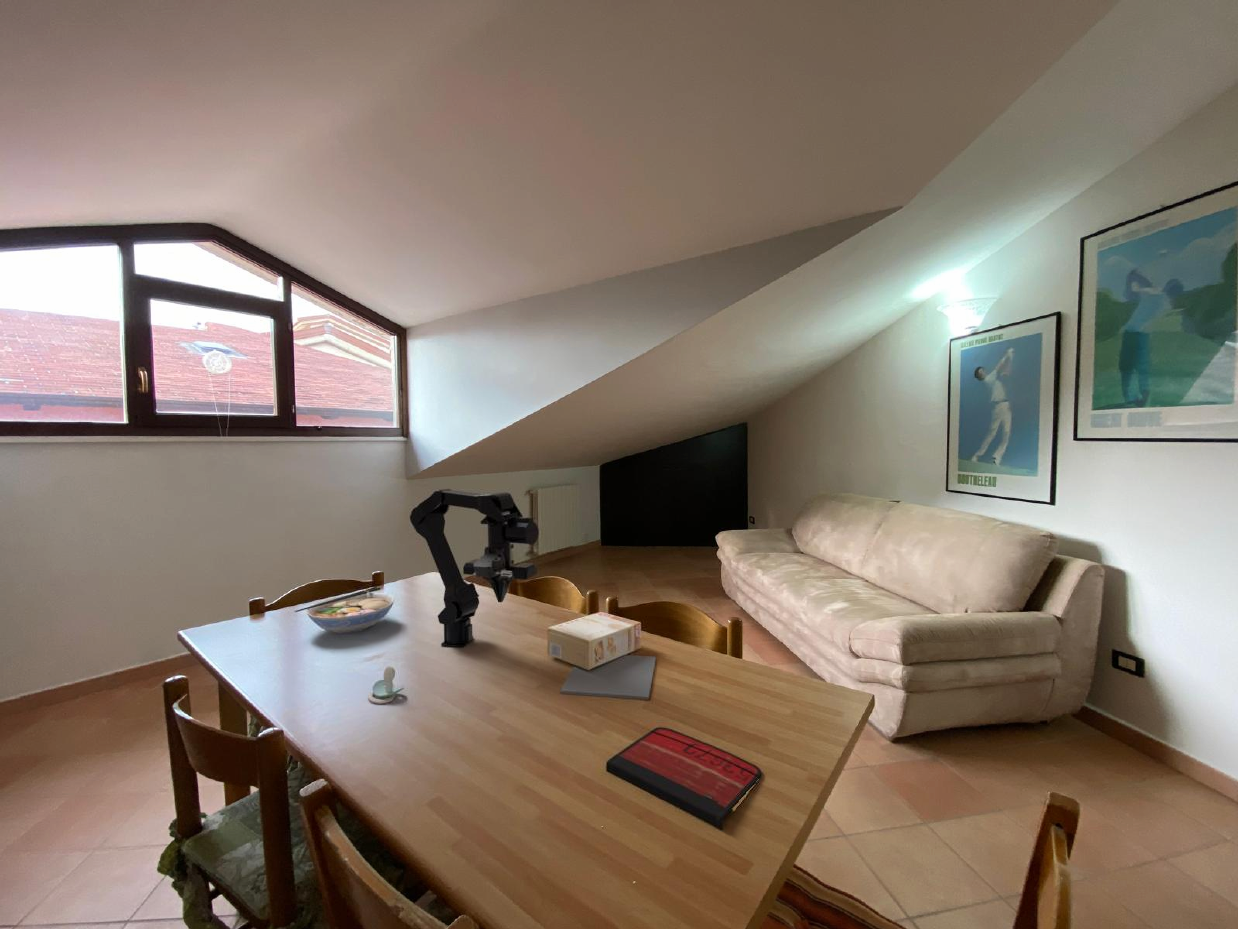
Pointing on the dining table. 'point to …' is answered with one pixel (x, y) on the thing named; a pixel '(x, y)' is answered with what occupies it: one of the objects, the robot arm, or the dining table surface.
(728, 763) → the binder
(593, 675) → the mat
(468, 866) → the dining table surface
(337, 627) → the ramen bowl
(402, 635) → the dining table surface
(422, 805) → the dining table surface
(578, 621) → the coffeecake box
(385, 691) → the pacifier
